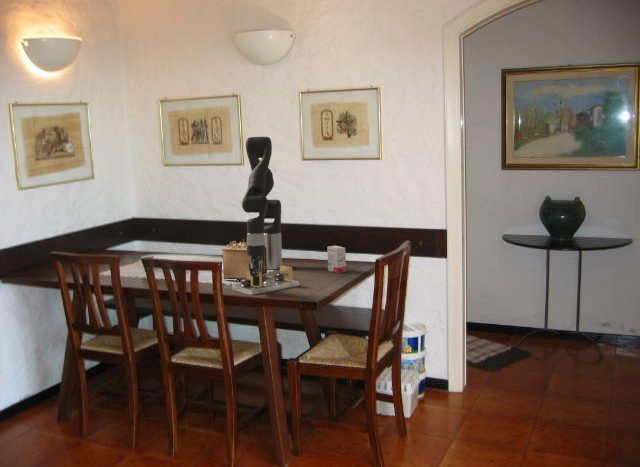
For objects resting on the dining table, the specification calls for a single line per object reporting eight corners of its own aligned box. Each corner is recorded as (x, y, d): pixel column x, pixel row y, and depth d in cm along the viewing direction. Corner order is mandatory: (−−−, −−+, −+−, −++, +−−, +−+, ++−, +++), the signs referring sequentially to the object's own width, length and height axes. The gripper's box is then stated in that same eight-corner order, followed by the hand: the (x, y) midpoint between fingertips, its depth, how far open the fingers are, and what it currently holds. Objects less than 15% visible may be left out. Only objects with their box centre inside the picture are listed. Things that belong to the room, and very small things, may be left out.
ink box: (346, 272, 343) (346, 247, 341) (337, 273, 340) (337, 248, 339) (336, 269, 350) (335, 245, 349) (327, 270, 348) (326, 246, 346)
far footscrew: (272, 278, 319) (272, 265, 318) (282, 277, 322) (281, 263, 322) (286, 282, 312) (285, 268, 311) (295, 280, 315) (295, 266, 315)
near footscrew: (238, 285, 306) (237, 271, 305) (245, 283, 311) (244, 269, 310) (257, 287, 302) (257, 273, 301) (264, 285, 307) (263, 271, 306)
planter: (222, 287, 316) (222, 244, 313) (213, 276, 340) (213, 235, 337) (279, 284, 323) (279, 242, 321) (266, 273, 347) (266, 234, 344)
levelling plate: (231, 289, 310) (231, 278, 310) (278, 280, 326) (278, 270, 326) (251, 294, 299) (251, 283, 299) (299, 285, 315) (298, 275, 315)
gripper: (252, 241, 311) (253, 281, 313) (241, 245, 297) (242, 287, 299) (269, 241, 309) (270, 282, 311) (259, 246, 295) (260, 288, 297)
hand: (256, 284), depth 305 cm, fingers closed on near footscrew, 2 cm apart
